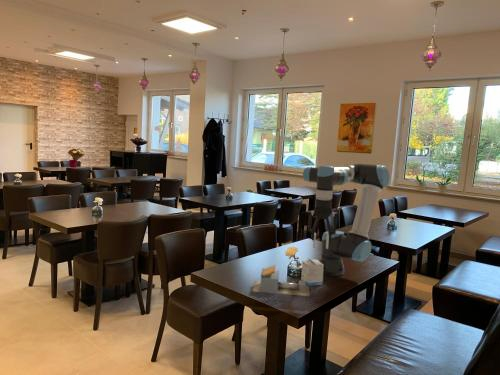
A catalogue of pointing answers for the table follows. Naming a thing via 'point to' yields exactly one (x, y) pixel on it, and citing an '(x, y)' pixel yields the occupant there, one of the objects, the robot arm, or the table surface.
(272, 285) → the hitch block
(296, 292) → the birch board
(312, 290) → the table surface
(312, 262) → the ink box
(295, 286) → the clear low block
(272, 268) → the keeper tab
